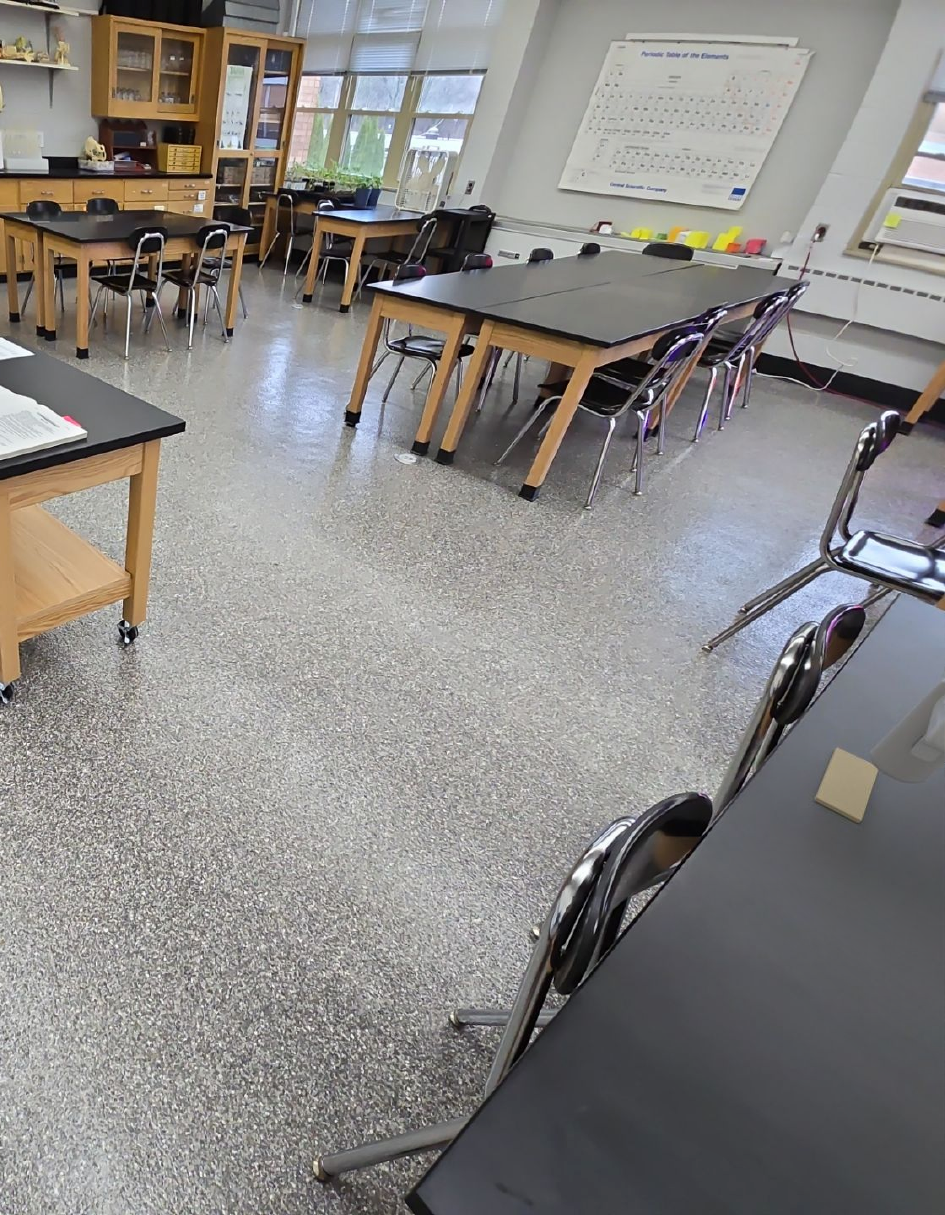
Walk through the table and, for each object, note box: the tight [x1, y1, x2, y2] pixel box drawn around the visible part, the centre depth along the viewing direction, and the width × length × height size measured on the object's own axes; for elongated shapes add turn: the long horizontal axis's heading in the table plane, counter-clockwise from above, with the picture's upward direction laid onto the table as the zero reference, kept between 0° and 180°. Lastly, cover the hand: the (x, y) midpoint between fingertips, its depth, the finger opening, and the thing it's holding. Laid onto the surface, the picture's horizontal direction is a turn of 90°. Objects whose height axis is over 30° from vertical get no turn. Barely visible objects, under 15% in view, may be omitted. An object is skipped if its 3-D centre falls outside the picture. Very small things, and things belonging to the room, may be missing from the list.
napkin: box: [813, 747, 879, 824], centre depth 92 cm, size 13×4×1 cm, turn 132°
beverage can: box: [869, 679, 945, 784], centre depth 75 cm, size 5×5×12 cm
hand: (923, 741), depth 76 cm, fingers closed on beverage can, 5 cm apart
